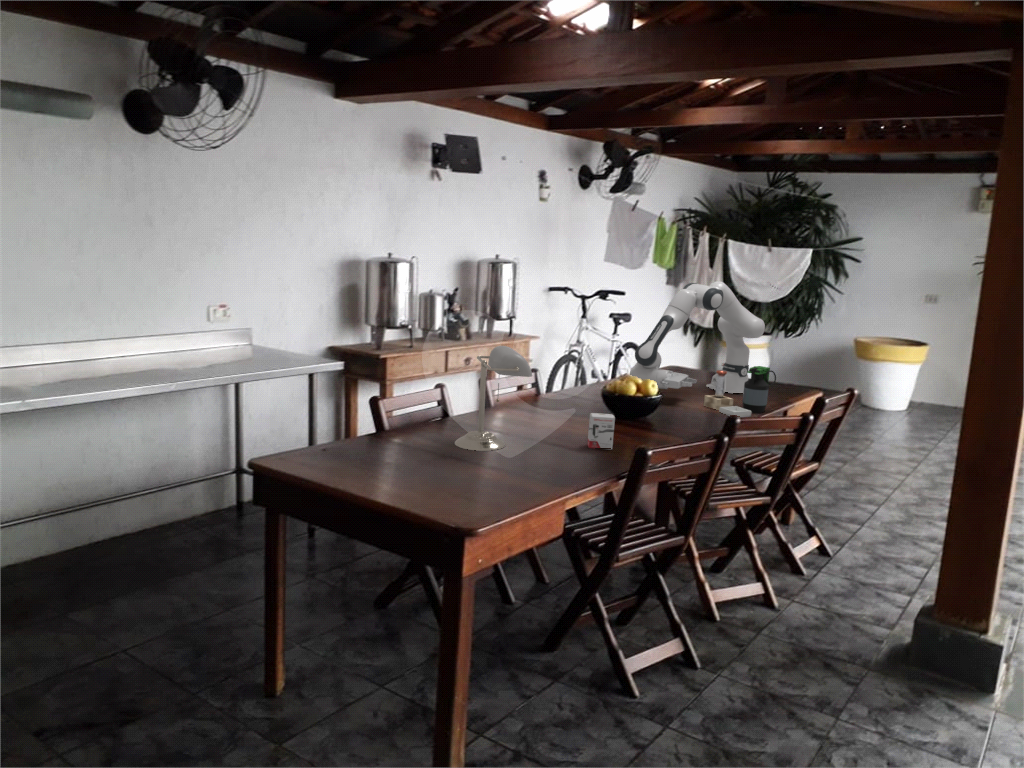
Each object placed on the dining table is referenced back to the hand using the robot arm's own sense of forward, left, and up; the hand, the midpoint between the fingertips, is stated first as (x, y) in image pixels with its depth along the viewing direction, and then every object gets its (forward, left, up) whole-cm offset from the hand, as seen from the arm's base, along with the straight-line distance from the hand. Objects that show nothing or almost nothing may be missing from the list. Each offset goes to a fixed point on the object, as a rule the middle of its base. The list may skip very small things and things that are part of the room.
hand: (694, 383), depth 366 cm
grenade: (+17, +22, -10) cm, 30 cm away
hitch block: (+9, +8, -10) cm, 15 cm away
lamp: (+39, -120, -10) cm, 127 cm away
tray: (+22, +6, -10) cm, 25 cm away
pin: (+9, +8, -10) cm, 15 cm away
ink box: (+53, -83, -10) cm, 99 cm away
